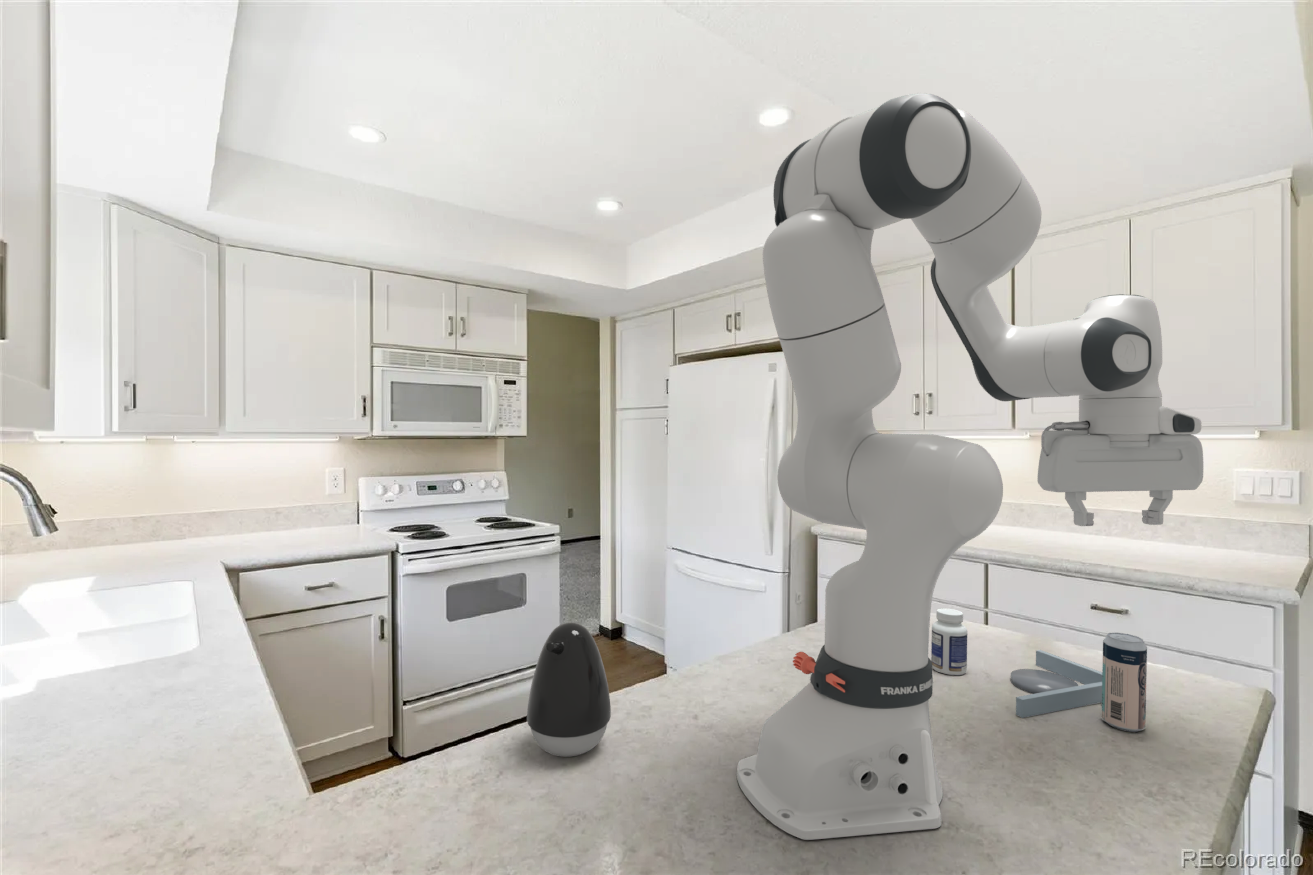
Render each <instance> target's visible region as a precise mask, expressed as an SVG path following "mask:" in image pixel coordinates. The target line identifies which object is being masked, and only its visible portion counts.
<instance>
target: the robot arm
mask: <svg viewBox="0 0 1313 875" xmlns="http://www.w3.org/2000/svg"><path fill="white" fill-rule="evenodd" d="M772 194H773V196H772V197H773V206H774V211H775V212H774V213H775V214H774V223H775V226H776V227H775V228H774V229H773V230H772V231H771V233H769V235H768V237H767V238H766V240H765V243H764V244H763V245H764V246H763V248H762V249H763V250H762V264H763V272H764V274H763V275H764V281H765V285H766V286H765V287H766V293H767V297H768V304H769V307H770V311H771V316H772V319H773V324H774V326H775V330H776V331H775V332H776V333H777V337H778V340H779V343H780V347H781V348H782V349H781V350H782V352H783V355H784V359H785V362H786V365H787V369H788V373H789V377H790V380H791V384H792V388H793V391H794V395H795V401H796V406H797V422H796V424H797V425H796V431H795V436H794V438H793V440H792V442H791V444H789V445H788V447H787V448H786V449H785V451H784V452H783V453H782V456H781V458H780V461H779V464H778V468H777V486H778V491H779V493H780V497H781V499H782V501H783V502H784V504H785V505H786V506H787V507H788V508H789V509H790V510H792V511H794V512H796V513H797V514H800V515H802V516H805V517H807V518H810V519H812V520H815V521H817V522H820V523H822V524H826V525H832V526H833V525H834V526H838V527H839V526H840V527H845V528H853V529H857V530H866V537H865V538H866V539H865V544H864V549H863V552H862V554H861V556H860V558H859V559H858V560H856V561H853V562H851V563H849V564H847V565H845V566H843V567H841V568H839V569H838V570H837V571H836V572H835V573H834V574H832V575H831V577H830V578H829V579H828V581H827V584H826V587H825V595H824V596H825V597H824V599H825V600H824V603H825V604H824V606H825V607H824V644H823V645H822V647H821V648H820V651H819V654H818V655H817V658H816V660H815V658H814V657H812V656H809V655H808V654H807V653H806V652H804V651H799V652H796V653H795V656H793V658H792V659H793V660H792V663H793V664H792V665H793V666H794V668H795V669H797V670H799V671H801V672H802V673H803V674H805V675H810V677H809V678H810V679H809V680H810V681H809V683H808V684H806V685H805V686H804V687H803V688H802V689H801V690H800V691H798V692H797V693H796V694H795V695H794V696H793V697H792V698H790V700H788V701H787V702H786V703H785V704H784V705H783V706H781V707H780V708H779V709H778V710H776V712H774V713H773V714H772V715H771V716H769V717H768V718H767V719H766V720H765V722H764V723H763V725H762V728H761V732H760V736H759V740H758V745H757V746H758V747H757V753H756V754H753V755H750V756H747V757H745V758H742V759H739V761H738V763H737V768H736V779H737V782H738V785H739V787H740V789H741V791H742V793H743V794H744V796H745V797H746V798H747V800H748V801H749V802H750V803H751V805H753V806H754V808H755V809H756V810H757V811H758V813H760V814H761V815H762V816H763V817H764V818H765V819H767V820H768V821H769V822H770V823H772V825H774V826H776V827H777V828H778V829H780V830H782V831H784V832H786V833H787V834H789V835H792V836H794V837H797V838H798V839H801V840H805V841H809V840H821V839H833V838H844V837H855V836H856V837H857V836H867V835H878V834H887V833H888V834H889V833H899V832H900V833H901V832H912V831H922V830H923V831H924V830H932V829H933V830H934V829H937V828H939V827H942V814H941V809H940V804H941V801H942V799H943V794H944V792H943V791H944V790H943V787H942V784H941V780H940V776H939V774H938V772H939V771H938V769H937V763H936V759H935V754H934V744H933V737H932V726H931V718H930V717H931V716H930V704H929V700H930V699H931V698H932V696H933V684H934V678H933V668H932V661H931V658H929V647H930V646H929V645H930V644H929V641H930V626H931V625H930V622H931V610H932V602H933V596H934V591H935V587H936V584H937V581H938V580H939V577H940V574H941V572H942V571H943V568H944V567H945V566H946V564H947V562H948V561H949V560H950V558H951V557H952V556H953V555H954V554H956V552H957V551H958V550H959V549H960V548H961V547H962V546H964V545H966V544H967V543H968V542H969V541H971V540H973V539H975V538H976V537H977V538H978V536H980V535H981V534H982V533H983V532H985V531H986V530H987V529H988V528H989V526H991V524H992V523H993V522H994V521H995V519H996V518H997V516H998V514H999V511H1000V508H1001V506H1002V501H1003V497H1004V484H1003V479H1002V475H1001V471H1000V469H999V466H998V465H997V463H996V461H995V459H994V458H993V456H992V455H991V454H990V452H988V450H987V449H985V447H984V446H982V445H980V444H978V443H974V442H970V441H966V440H962V439H958V438H954V437H948V436H945V435H944V436H943V435H939V434H931V433H929V434H928V433H927V434H926V433H925V434H923V433H921V434H920V433H918V434H917V433H916V434H914V433H913V434H912V433H882V432H881V433H880V432H879V431H878V430H877V428H876V427H875V424H874V420H873V409H874V408H876V407H877V406H879V405H880V404H881V403H882V402H883V401H885V400H886V399H887V398H888V397H889V396H890V395H891V394H892V393H893V391H894V390H895V389H896V386H897V385H898V382H899V380H900V376H901V372H902V363H901V359H900V354H899V352H898V347H897V343H896V340H895V336H894V333H893V329H892V325H891V322H890V317H889V314H888V310H887V307H886V303H885V299H884V296H883V292H882V289H881V285H880V282H879V279H878V276H877V274H876V271H875V269H874V265H873V264H872V258H871V256H872V254H871V253H872V252H871V250H872V242H873V236H874V233H875V230H878V229H881V228H884V227H887V226H890V225H893V224H895V223H898V222H900V221H903V220H909V219H911V221H912V222H913V224H914V226H915V227H916V229H917V230H918V231H919V233H920V234H921V236H922V237H923V238H924V240H926V242H927V244H928V246H929V247H930V249H931V250H932V252H933V256H934V258H933V260H932V262H931V266H930V280H931V283H932V287H933V290H934V291H935V294H936V297H937V298H938V300H939V302H940V304H941V307H942V308H943V310H944V312H945V314H946V316H947V317H948V319H949V321H950V323H951V324H952V326H953V328H954V330H955V331H956V333H957V334H956V335H958V337H959V339H960V341H961V343H962V345H963V346H964V348H965V350H966V351H967V353H968V355H969V358H970V359H971V363H972V366H973V370H974V374H975V377H976V379H977V381H978V384H979V386H981V387H982V389H983V391H985V392H986V393H987V394H988V395H989V396H990V397H992V398H993V399H995V400H997V401H1001V402H1013V401H1021V400H1022V401H1023V400H1029V399H1034V398H1035V399H1036V398H1061V397H1075V396H1078V420H1077V421H1069V422H1067V421H1056V422H1052V423H1051V425H1048V426H1047V427H1045V429H1043V431H1042V433H1041V438H1040V439H1041V441H1040V446H1041V450H1040V453H1039V454H1040V455H1039V459H1038V468H1037V484H1038V485H1039V487H1041V489H1042V490H1043V491H1048V492H1052V493H1064V499H1065V501H1066V502H1067V504H1068V506H1069V507H1070V509H1071V511H1072V512H1073V523H1074V525H1075V526H1078V527H1093V526H1094V524H1095V522H1094V519H1095V515H1094V512H1089V511H1087V508H1086V506H1085V504H1084V502H1083V501H1086V500H1087V493H1092V492H1093V493H1094V492H1095V493H1096V492H1097V493H1102V492H1103V493H1105V492H1107V493H1108V492H1145V491H1146V492H1147V491H1148V493H1149V497H1150V498H1152V500H1151V502H1150V503H1149V506H1148V508H1147V509H1141V516H1142V518H1141V521H1142V523H1143V524H1145V525H1150V526H1152V525H1153V526H1155V525H1157V526H1158V525H1159V526H1161V525H1163V524H1164V512H1165V511H1166V510H1167V508H1168V506H1169V505H1170V504H1171V502H1172V501H1173V499H1174V498H1173V496H1174V495H1173V493H1174V491H1195V490H1197V489H1198V487H1200V485H1201V484H1202V483H1203V479H1204V450H1203V445H1202V442H1201V440H1200V438H1198V437H1197V436H1196V434H1199V433H1200V432H1201V431H1202V420H1201V418H1199V417H1197V416H1196V415H1192V414H1189V413H1185V412H1181V411H1179V410H1176V409H1173V408H1170V407H1168V406H1164V405H1163V393H1162V390H1161V388H1160V385H1159V375H1160V370H1161V368H1162V366H1163V338H1162V337H1163V336H1162V328H1161V320H1160V315H1159V312H1158V309H1157V306H1156V303H1155V302H1154V300H1152V299H1150V298H1149V297H1145V296H1144V295H1143V296H1142V295H1138V294H1121V293H1119V294H1111V295H1104V296H1101V297H1096V298H1094V299H1092V300H1090V301H1089V302H1087V303H1086V305H1085V309H1084V312H1083V314H1080V315H1079V316H1075V317H1073V318H1072V319H1068V320H1063V321H1058V322H1052V323H1051V322H1050V323H1045V324H1044V323H1043V324H1038V325H1031V326H1029V325H1028V326H1020V325H1014V324H1011V323H1008V322H1006V321H1005V320H1004V318H1003V316H1002V314H1001V312H1000V310H999V307H998V306H997V304H996V301H995V300H994V298H993V295H992V294H991V291H990V290H989V287H988V286H990V285H991V284H992V283H994V282H996V281H997V280H999V279H1000V278H1002V277H1004V276H1005V275H1007V274H1008V273H1009V272H1011V270H1013V269H1014V268H1015V267H1016V266H1017V265H1018V264H1019V263H1020V261H1021V260H1023V259H1024V258H1025V256H1026V255H1027V253H1029V251H1030V249H1031V247H1032V246H1033V245H1034V243H1035V242H1036V239H1037V237H1038V234H1039V231H1040V228H1041V223H1042V207H1041V204H1040V201H1039V199H1038V196H1037V193H1036V191H1035V190H1034V188H1033V187H1032V185H1031V184H1030V182H1029V180H1028V179H1027V177H1026V176H1025V174H1024V173H1023V171H1022V170H1021V169H1020V167H1019V165H1017V163H1016V161H1015V160H1014V159H1013V157H1012V156H1011V155H1010V154H1009V152H1008V151H1007V150H1006V148H1005V147H1004V146H1003V145H1002V143H1000V142H999V140H998V139H997V138H996V137H995V136H994V135H993V134H992V133H991V132H990V131H989V130H988V129H987V128H986V127H985V126H984V125H983V124H982V123H981V122H980V121H979V120H977V119H976V117H974V116H973V115H971V114H970V113H969V112H968V111H966V110H964V109H963V108H958V107H955V106H953V105H952V104H951V103H950V102H949V101H948V100H946V99H944V98H943V97H941V96H939V95H935V94H932V93H926V92H924V93H921V92H920V93H919V92H917V93H909V94H905V95H902V96H898V97H894V98H891V99H888V100H887V101H886V102H884V103H882V104H880V105H879V106H878V107H875V108H872V109H869V110H867V111H864V112H860V113H859V114H856V115H854V116H849V117H845V118H843V119H841V120H839V121H837V122H836V123H833V124H832V125H830V126H828V127H827V128H826V129H824V130H822V131H820V132H819V133H818V134H817V135H815V136H813V137H812V138H810V139H807V140H804V141H803V142H801V143H800V144H798V145H797V146H795V148H794V149H793V150H792V151H791V152H790V153H789V154H788V155H787V156H786V157H785V158H784V160H783V161H782V163H780V166H779V167H778V170H777V171H776V175H775V179H774V184H773V193H772ZM1051 429H1052V430H1051Z"/></svg>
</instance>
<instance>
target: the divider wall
mask: <svg viewBox="0 0 1313 875" xmlns="http://www.w3.org/2000/svg"><path fill="white" fill-rule="evenodd" d="M1035 666H1037V667H1040V668H1042V669H1044V670H1047V671H1048V672H1052V673H1056V674H1059V675H1062V676H1065V677H1067V678H1069V679H1071V680H1073V681H1076V682H1078V683H1080V684H1082V685H1078V686H1075V687H1069V688H1064V689H1058V690H1052V691H1047V692H1041V693H1035V694H1032V693H1030V694H1025V695H1020V696H1019V695H1018V696H1016V697H1015V715H1016V716H1017V717H1019V718H1021V719H1023V718H1029V717H1033V716H1039V715H1044V714H1045V715H1046V714H1049V713H1055V712H1059V711H1063V710H1070V709H1075V708H1079V707H1085V706H1091V705H1095V704H1100V703H1101V704H1102V671H1099V670H1097V669H1094V668H1091V667H1088V666H1085V665H1084V664H1080V663H1077V662H1075V661H1072V660H1069V659H1067V658H1064V657H1061V656H1058V655H1056V654H1052V653H1050V652H1047V651H1044V650H1042V649H1037V650H1035Z"/></svg>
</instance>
